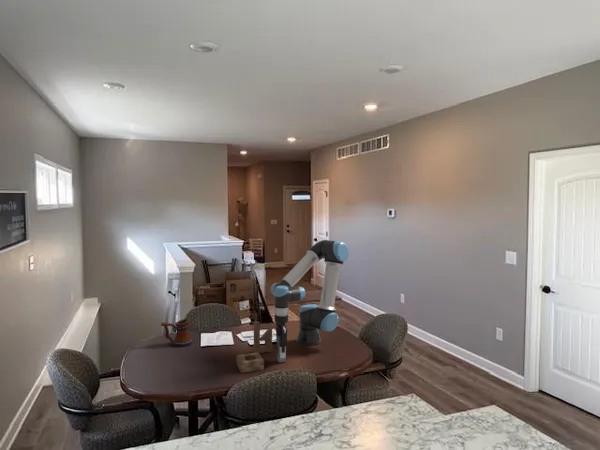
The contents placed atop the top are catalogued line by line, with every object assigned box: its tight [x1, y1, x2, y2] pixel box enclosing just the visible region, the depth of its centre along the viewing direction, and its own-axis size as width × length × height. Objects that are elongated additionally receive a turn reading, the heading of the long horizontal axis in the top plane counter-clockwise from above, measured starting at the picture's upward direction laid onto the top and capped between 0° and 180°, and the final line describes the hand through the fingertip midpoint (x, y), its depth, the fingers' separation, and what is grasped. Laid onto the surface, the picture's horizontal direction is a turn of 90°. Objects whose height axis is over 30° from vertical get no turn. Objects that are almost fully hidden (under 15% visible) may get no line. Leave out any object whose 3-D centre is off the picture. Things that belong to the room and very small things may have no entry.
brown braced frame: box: [252, 321, 273, 354], centre depth 247 cm, size 4×11×18 cm, turn 111°
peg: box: [276, 335, 287, 363], centre depth 233 cm, size 4×4×14 cm
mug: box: [160, 318, 193, 348], centre depth 258 cm, size 18×12×15 cm, turn 108°
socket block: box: [236, 352, 265, 374], centre depth 225 cm, size 12×12×5 cm
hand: (281, 356), depth 233 cm, fingers closed on peg, 4 cm apart
